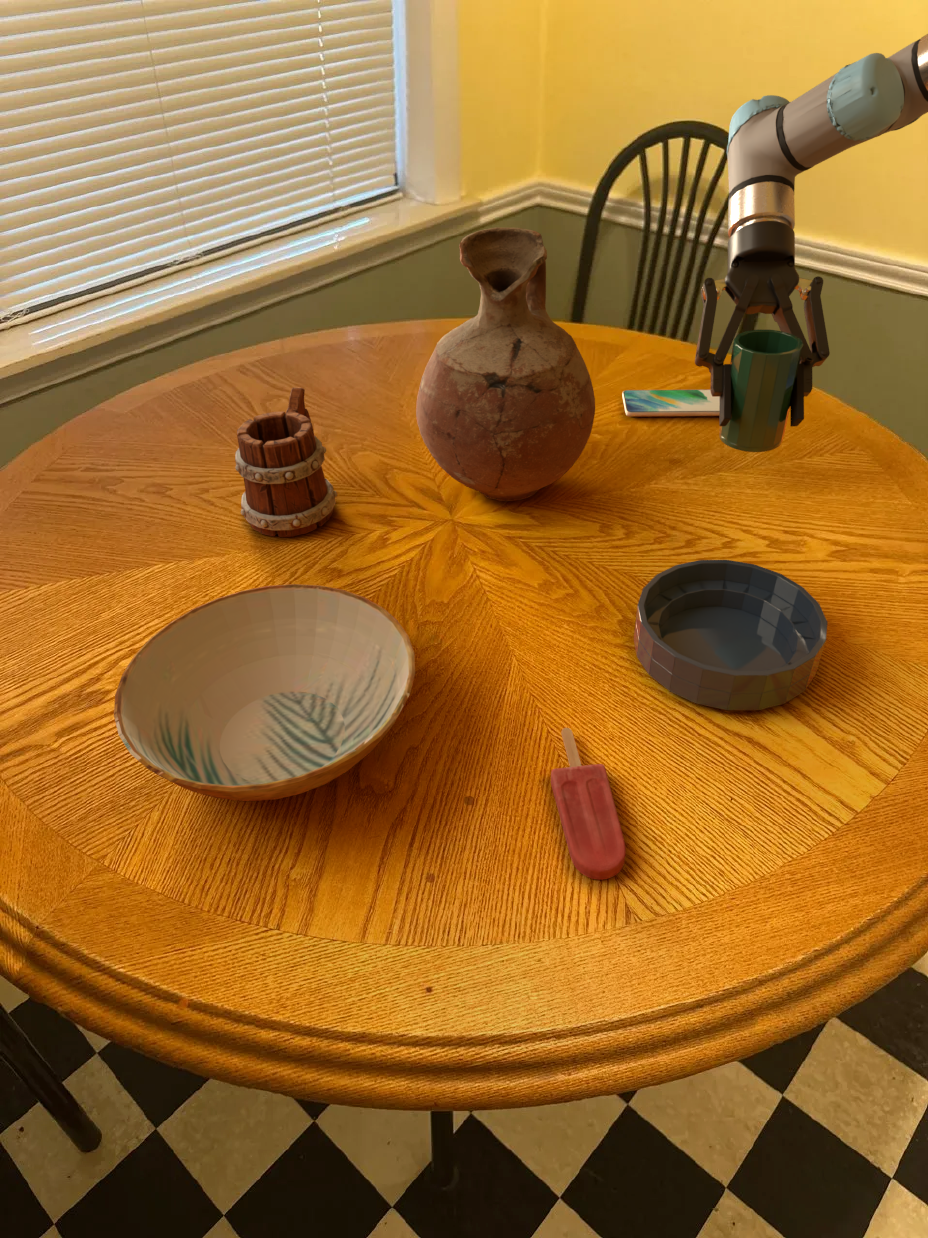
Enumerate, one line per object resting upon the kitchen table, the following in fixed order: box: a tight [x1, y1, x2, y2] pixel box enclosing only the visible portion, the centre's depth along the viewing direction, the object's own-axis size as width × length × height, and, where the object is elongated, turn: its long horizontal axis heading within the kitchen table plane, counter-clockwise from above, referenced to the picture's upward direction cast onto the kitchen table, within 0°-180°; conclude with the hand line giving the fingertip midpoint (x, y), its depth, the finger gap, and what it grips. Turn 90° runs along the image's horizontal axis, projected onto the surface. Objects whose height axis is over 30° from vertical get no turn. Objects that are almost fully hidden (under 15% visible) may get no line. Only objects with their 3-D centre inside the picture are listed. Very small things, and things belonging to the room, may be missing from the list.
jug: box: [415, 226, 596, 502], centre depth 102 cm, size 22×22×30 cm
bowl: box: [113, 583, 416, 802], centre depth 75 cm, size 25×25×8 cm
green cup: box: [718, 329, 803, 453], centre depth 101 cm, size 7×7×12 cm
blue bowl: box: [633, 559, 828, 711], centre depth 83 cm, size 17×17×5 cm
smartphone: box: [621, 389, 720, 417], centre depth 125 cm, size 7×1×15 cm
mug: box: [234, 387, 338, 538], centre depth 104 cm, size 12×14×15 cm
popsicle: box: [550, 727, 627, 880], centre depth 71 cm, size 4×2×15 cm
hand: (761, 422), depth 100 cm, fingers closed on green cup, 7 cm apart
